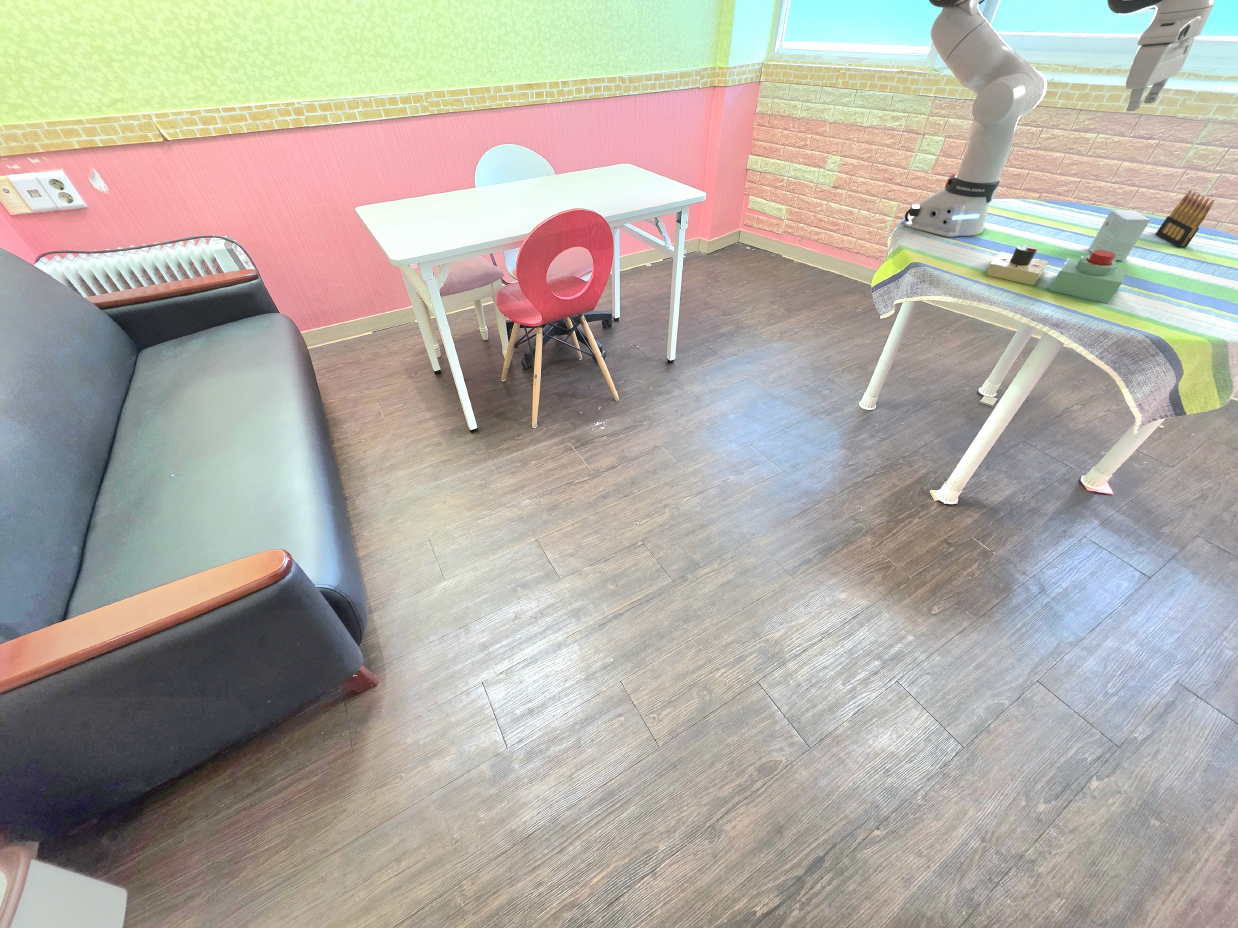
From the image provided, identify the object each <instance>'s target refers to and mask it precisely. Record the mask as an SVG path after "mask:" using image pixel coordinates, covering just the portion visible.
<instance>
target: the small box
mask: <svg viewBox="0 0 1238 928" xmlns="http://www.w3.org/2000/svg"><path fill="white" fill-rule="evenodd" d="M1150 222H1151V219H1150V218H1148V217H1146V216H1144V215H1143V214H1141V213H1140V212H1138V211H1136V210H1125V209H1124V210H1119V209H1118V210H1115V209H1114V210H1113V209H1112V210H1110V211H1109V213H1108V215H1107V216H1106V218H1105V219H1104V221H1103V223H1102V225H1101V227H1100V229H1099V230H1098V231H1097V233H1096V235H1095V237H1094V239H1093V241H1092V242H1091V244H1090V246H1089V247H1088V251H1089V252H1091V253H1092V252H1093V251H1094V250H1106V251H1110V252H1113V253H1115V254H1116V256H1115V258H1114V259H1113V260H1115V261H1125V260H1126V259H1127V258H1128V256H1129V254H1130V253H1131V251H1132V250H1133V248H1134V247H1135V246H1136V244H1137V242H1138V241H1139V239H1140V237H1141V236H1142V234H1143V233H1144V231H1145V230H1146V228H1147V226H1148V225H1149V223H1150Z"/></svg>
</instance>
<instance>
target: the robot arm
mask: <svg viewBox="0 0 1238 928" xmlns="http://www.w3.org/2000/svg"><path fill="white" fill-rule="evenodd" d="M985 1H986V0H928V2H929V3H930V4H931V5H933V6H934V7H936V8H942V9H941V12H940V13H939V14H938V16H937V17H936V19H935V20H934V21H933V23H932V26H931V29H930V38H931V40H932V43H933V45H934V48H935V50H936V52H937V53H938V55H939V57H940V58H941V59H942V60H941V61H943V62H944V64H945V65H946V67H947V68H948V69H949V70H950V71H951V73H952V74H953V75H954V76H955V78H956V79H957V81H958V82H959V83H960V84H961V85H962V86H963V87H964V88H966V89H969V90H970V91H971V92H973V93H974V94H975V95H976V97H975V98H974V100H973V104H972V108H971V114H972V123H971V127H970V132H969V138H968V143H967V147H966V150H965V151H964V152H965V153H964V155H963V158H962V159H961V160H962V161H961V163H960V166H959V169H958V171H957V173H953V174H952V175H950V176H949V178H948V179H947V180H946V183H945V186H944V189H941V190H940V191H938V192H936V193H934V194H932V195H930V196H928V197H926V198H925V199H923V200H922V201H921V202H920V203H919V204H910V207H909V209H908V210H907V211H906V212H905V214H904V221H903V226H905V227H908V228H912V229H915V230H919V231H924V232H927V233H931V234H934V235H938V236H943V237H946V238H953V237H954V238H955V237H970V236H971V237H972V236H976V235H977V236H978V235H980V234H982V233H983V232H984V229H985V222H986V217H987V213H988V211H989V207H990V204H991V202H992V200H993V199H994V197H995V195H996V193H997V190H998V188H999V185H1000V183H1001V179H1000V178H1001V176H1002V174H1003V171H1004V169H1005V167H1006V165H1007V162H1008V160H1009V157H1010V156H1011V153H1012V151H1013V150H1012V149H1013V139H1014V136H1015V132H1016V128H1017V123H1018V122H1019V119H1020V118H1022V117H1024V116H1025V115H1028V114H1029V113H1031V112H1032V111H1033V109H1035V108H1036V107H1037V105H1038V104H1039V103H1040V102H1041V101H1042V100H1043V98H1044V96H1045V94H1046V91H1047V87H1048V86H1047V85H1048V83H1047V79H1046V77H1045V76H1044V74H1042V73H1041V72H1040V71H1037V69H1035V68H1034V67H1033V65H1031V64H1030V63H1029V62H1028V61H1027V60H1025V58H1023V57H1022V56H1021V55H1020V54H1018V53H1017V52H1016V51H1015V50H1014V49H1012V48H1011V47H1010V46H1009V45H1008V44H1007V43H1006V42H1005V41H1004V40H1003V38H1002V37H1001V36H1000V35H999V34H998V32H997V31H996V30H995V29H994V28H993V26H992V25H991V23H989V21H988V20H987V19H986V18H985V16H983V14H982V12H981V10H980V8H979V5H980V4H982V3H984V2H985ZM1106 2H1107V6H1108V8H1109V10H1110V11H1111V12H1112V13H1114V14H1118V15H1121V16H1126V15H1132V14H1137V13H1141V12H1151V11H1155V12H1154V15H1153V18H1152V19H1151V22H1150V23H1149V25H1148V26H1147V28H1145V29H1144V30H1143V31H1142V33H1140V35H1139V38H1138V40H1137V42H1136V46H1139V47H1138V49H1137V50H1136V52H1135V54H1134V57H1133V60H1132V62H1131V65H1130V68H1129V69H1128V73H1127V76H1126V79H1125V83H1124V88H1125V90H1131V92H1130V96H1129V101H1128V104H1127V107H1126V111H1127V112H1135V111H1137V110H1138V109H1140V107H1141V104H1142V103H1143V104H1145V105H1146V104H1153V103H1155V102H1156V101H1157V99H1158V98H1159V96H1160V93H1161V92H1162V90H1163V89H1164V88H1165V86H1166V84H1167V83H1168V80H1169V79H1170V78H1172V77H1174V76H1176V75H1178V74H1179V73H1180V72H1181V70H1182V69H1183V67H1184V65H1185V63H1186V60H1187V58H1188V55H1189V53H1190V51H1191V48H1192V46H1193V43H1194V41H1195V38H1196V37H1199V36H1200V35H1201V33H1202V32H1203V29H1204V27H1205V26H1206V25H1205V24H1206V23H1207V21H1208V18H1209V16H1210V14H1211V12H1212V9H1213V8H1214V6H1215V3H1216V0H1107V1H1106ZM1150 86H1151V88H1150V90H1149V92H1148V93H1147V94H1146V96H1145V99H1144V100H1143V97H1144V94H1145V93H1146V91H1147V89H1148V87H1150Z"/></svg>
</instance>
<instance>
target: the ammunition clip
mask: <svg viewBox="0 0 1238 928" xmlns="http://www.w3.org/2000/svg"><path fill="white" fill-rule="evenodd" d="M1196 194H1197V192H1196V191H1194V192H1193V193H1192V190H1191V189H1190V190H1189V191H1188V192H1186V194H1184V196H1183V197H1182V198H1181V200H1180V201H1179V202H1178V204H1177V205H1176V206H1175V207H1174V209H1173V210H1172V211H1171V213H1170V214H1169V215H1167V217H1166V218H1165V219H1164V221H1162V224H1161V225H1160V226H1159V228H1158V230H1157V231H1156V232H1155V236H1158V237H1159V238H1161V239H1163V240H1165V241H1166V242H1168V243H1170V244H1171V245H1173V246H1175V247H1177V248H1187V247H1188V246H1189V244H1190V242H1191V241H1192V240H1193V238H1195V235H1197V232H1198V231H1199V229H1200V226H1201V224H1202V223H1203V221H1204V220H1205V219H1206V217H1207V215H1208V213H1209V212H1210V210H1211V209H1212V207H1213V205H1214V203H1215V199H1212V200H1211V201H1210V197H1206V196H1205V195H1203V196H1202V197H1201V193H1198V194H1197V195H1196ZM1205 197H1206V199H1205ZM1209 201H1210V202H1209Z"/></svg>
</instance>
